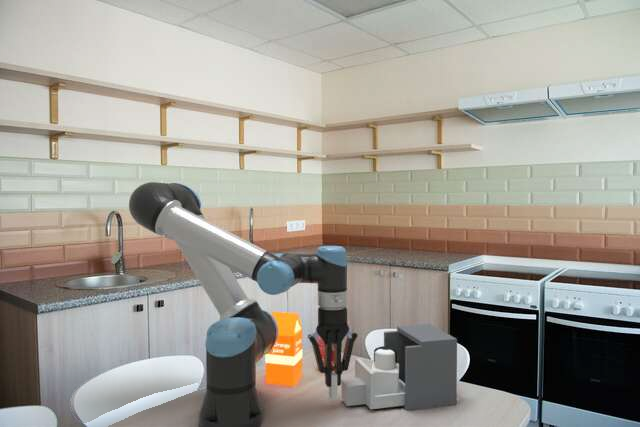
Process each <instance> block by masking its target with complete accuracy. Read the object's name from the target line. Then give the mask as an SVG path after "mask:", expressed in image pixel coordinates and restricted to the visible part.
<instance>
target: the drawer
mask: <svg viewBox="0 0 640 427" xmlns="http://www.w3.org/2000/svg"><path fill="white" fill-rule="evenodd" d="M354 365H355V366H354V371H355V372H354V377H352V378H341V385H340V386H341V393H340V394H341V395H340V397H341V400H342V401H343V402H344V404H345V405H346V406H347V407H351V406H358V405H359V406H360V405H366V406H367V407H368V408H369V410H376V409H384V408H385V409H386V408H394V407H402V406H403V405H405V383H404V382H403V381H401V380H400V379H399V393H394V394H385V395H376V396H375V373H374V372H373V371H372V370H371V369H372V368H371V367H369V365H367V364H366V363H365V362H364V361H363V360H362V359H361V358H355V359H354Z"/></svg>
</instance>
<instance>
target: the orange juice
mask: <svg viewBox="0 0 640 427" xmlns="http://www.w3.org/2000/svg"><path fill="white" fill-rule="evenodd" d="M269 313H270V314H271V315H272V316H273V317H274V318H275V320H276V322H277V325H278V338H277V341H276V343H275V345H274V346H273V348H272V349H271V351H270V352H269V353H267V354H266V355H264V358H265V384H270V385H277V386H278V385H279V386H286V387H288V386H289V387H295V386H296V385H297V384H298V383H299V382H300V380H301V379H302V378H303V328H302V324H301V321H300V317H299V314H298V313H297V312H296V313H295V312H283V311H282V312H280V311H279V312H278V311H270V312H269Z"/></svg>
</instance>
